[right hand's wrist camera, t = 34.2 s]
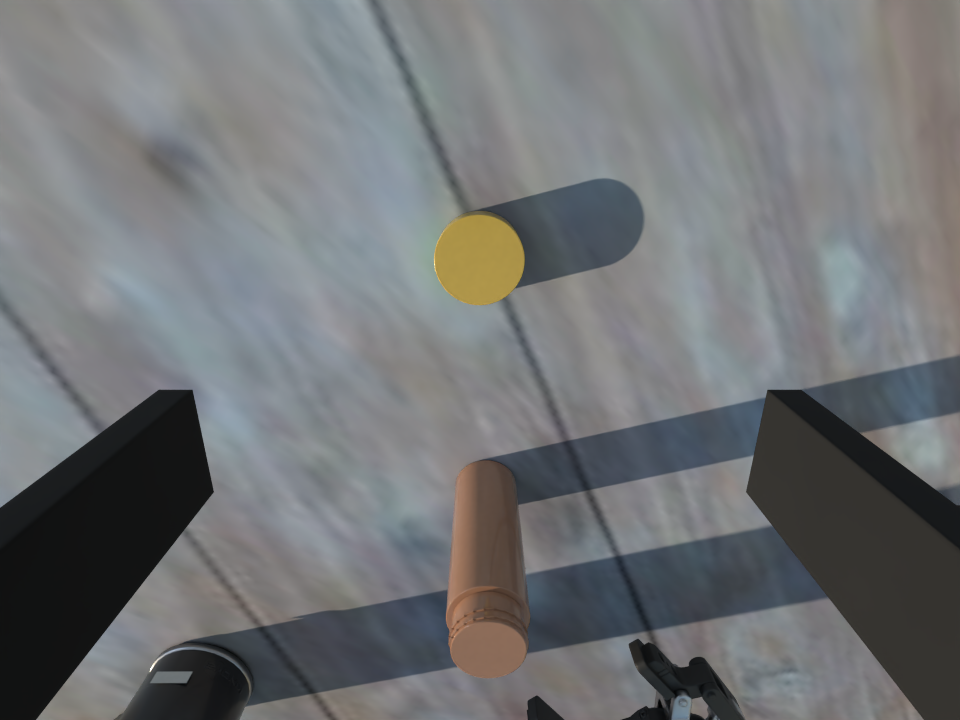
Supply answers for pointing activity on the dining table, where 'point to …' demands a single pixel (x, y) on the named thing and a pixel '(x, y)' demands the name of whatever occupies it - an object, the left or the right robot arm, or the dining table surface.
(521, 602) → the jar
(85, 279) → the dining table surface
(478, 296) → the lid
